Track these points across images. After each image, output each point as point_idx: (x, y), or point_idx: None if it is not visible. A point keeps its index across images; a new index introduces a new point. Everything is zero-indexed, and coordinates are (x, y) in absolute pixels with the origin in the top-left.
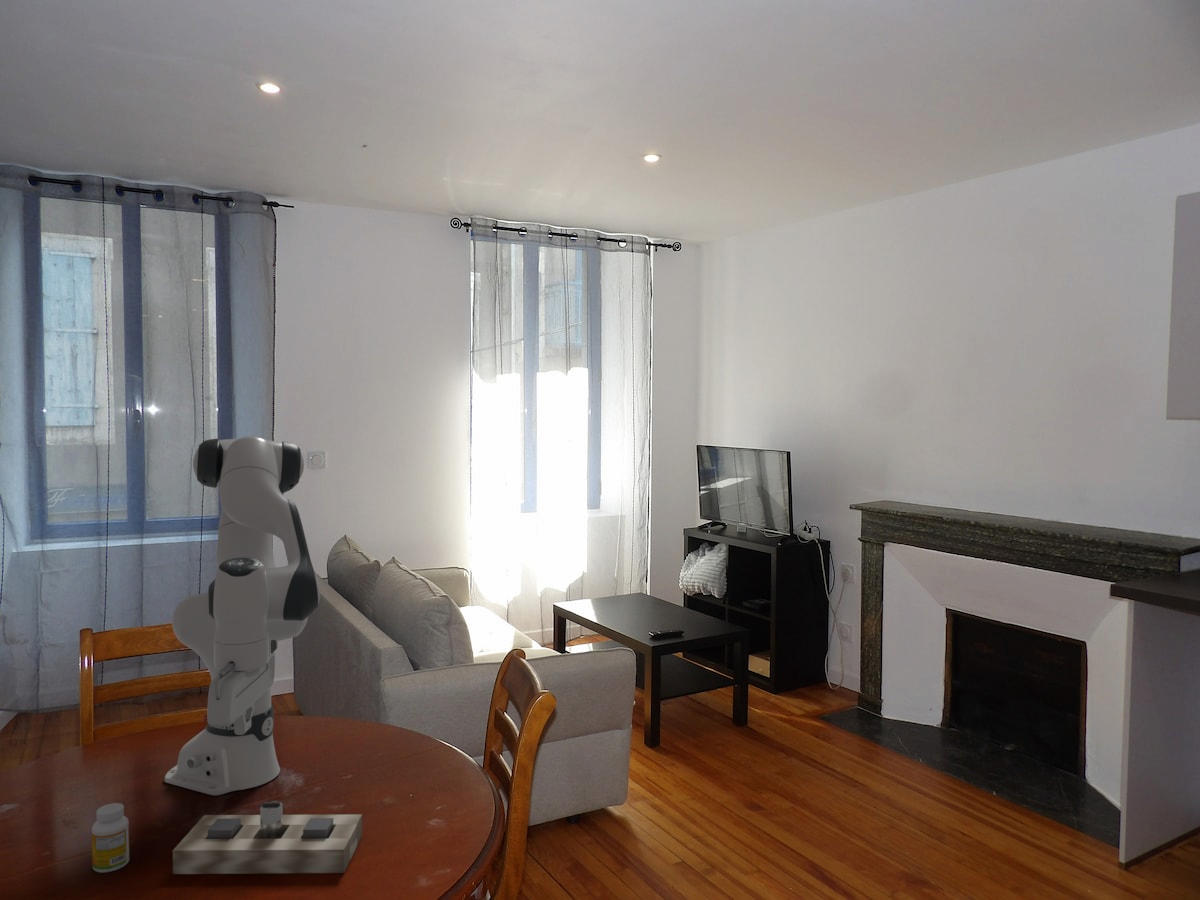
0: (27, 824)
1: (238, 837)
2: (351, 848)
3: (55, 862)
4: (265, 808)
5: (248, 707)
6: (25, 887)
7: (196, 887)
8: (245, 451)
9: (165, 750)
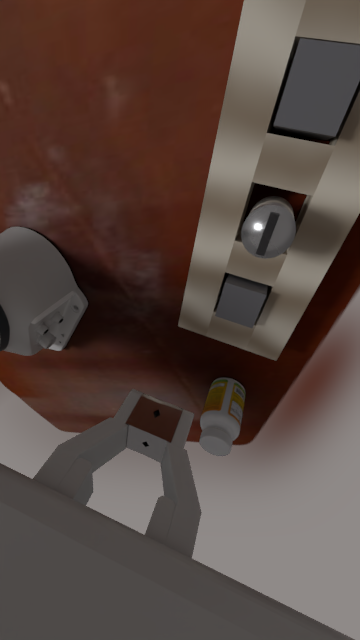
0: None
1: (270, 278)
2: None
3: None
4: (274, 246)
5: (168, 564)
6: (248, 438)
7: (331, 314)
8: None
9: None
